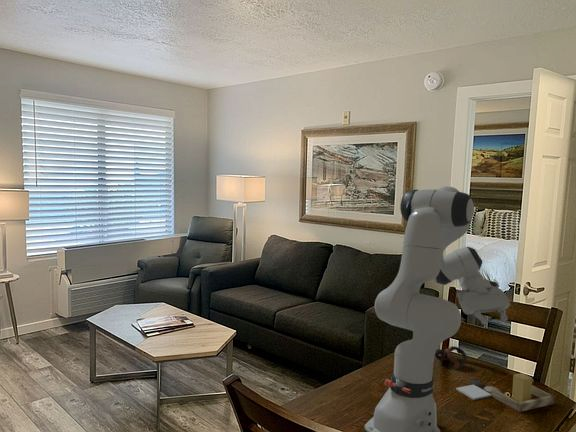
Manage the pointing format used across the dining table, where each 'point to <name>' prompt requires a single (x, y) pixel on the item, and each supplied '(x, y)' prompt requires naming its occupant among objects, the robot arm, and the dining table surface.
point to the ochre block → (522, 387)
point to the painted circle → (490, 389)
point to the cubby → (526, 405)
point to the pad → (473, 392)
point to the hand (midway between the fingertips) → (495, 321)
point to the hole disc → (477, 383)
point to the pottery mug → (451, 356)
